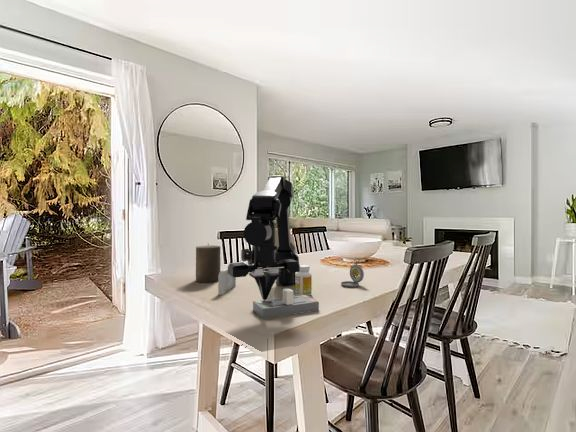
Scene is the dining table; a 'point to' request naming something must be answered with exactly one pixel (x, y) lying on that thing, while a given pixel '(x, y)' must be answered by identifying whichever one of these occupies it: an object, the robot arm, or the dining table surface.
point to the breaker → (270, 296)
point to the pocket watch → (354, 272)
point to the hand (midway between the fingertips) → (264, 299)
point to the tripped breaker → (287, 296)
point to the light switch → (225, 281)
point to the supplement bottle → (304, 281)
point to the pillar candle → (207, 263)
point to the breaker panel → (285, 306)
